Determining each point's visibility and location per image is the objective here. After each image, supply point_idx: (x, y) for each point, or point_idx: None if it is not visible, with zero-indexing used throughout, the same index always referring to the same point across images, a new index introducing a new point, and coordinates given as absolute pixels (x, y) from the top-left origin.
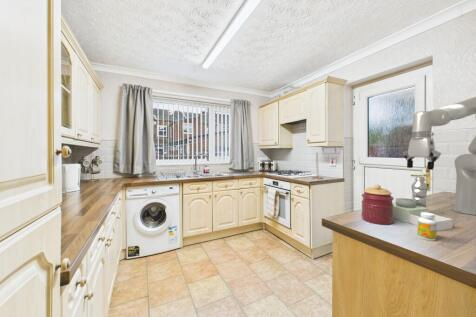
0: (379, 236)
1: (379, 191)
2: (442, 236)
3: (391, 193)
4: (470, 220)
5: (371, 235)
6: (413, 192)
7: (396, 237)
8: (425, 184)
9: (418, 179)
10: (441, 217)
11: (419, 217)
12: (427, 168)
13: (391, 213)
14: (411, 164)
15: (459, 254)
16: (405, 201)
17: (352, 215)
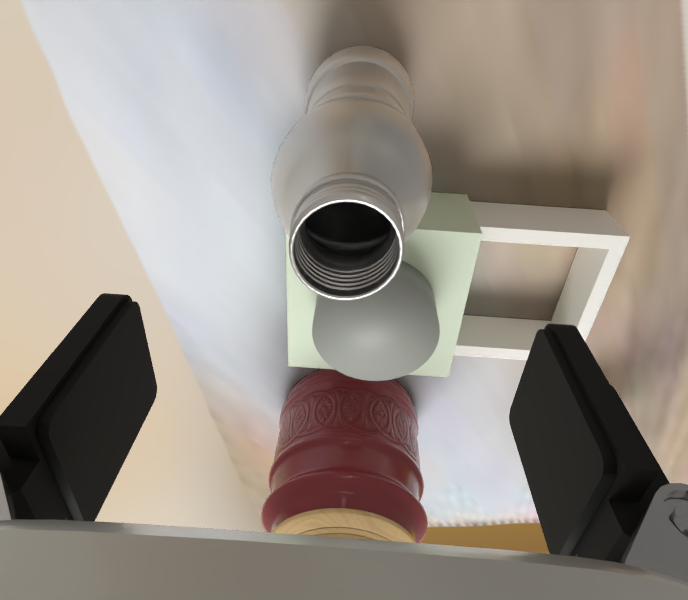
0: (471, 512)
1: None
2: (603, 360)
3: (413, 540)
4: None
5: (454, 522)
6: (331, 217)
7: (505, 484)
8: (417, 196)
9: (360, 281)
10: (569, 244)
11: (500, 357)
12: (516, 430)
13: (417, 447)
14: (112, 380)
15: (677, 452)
16: (401, 370)
17: (259, 442)
